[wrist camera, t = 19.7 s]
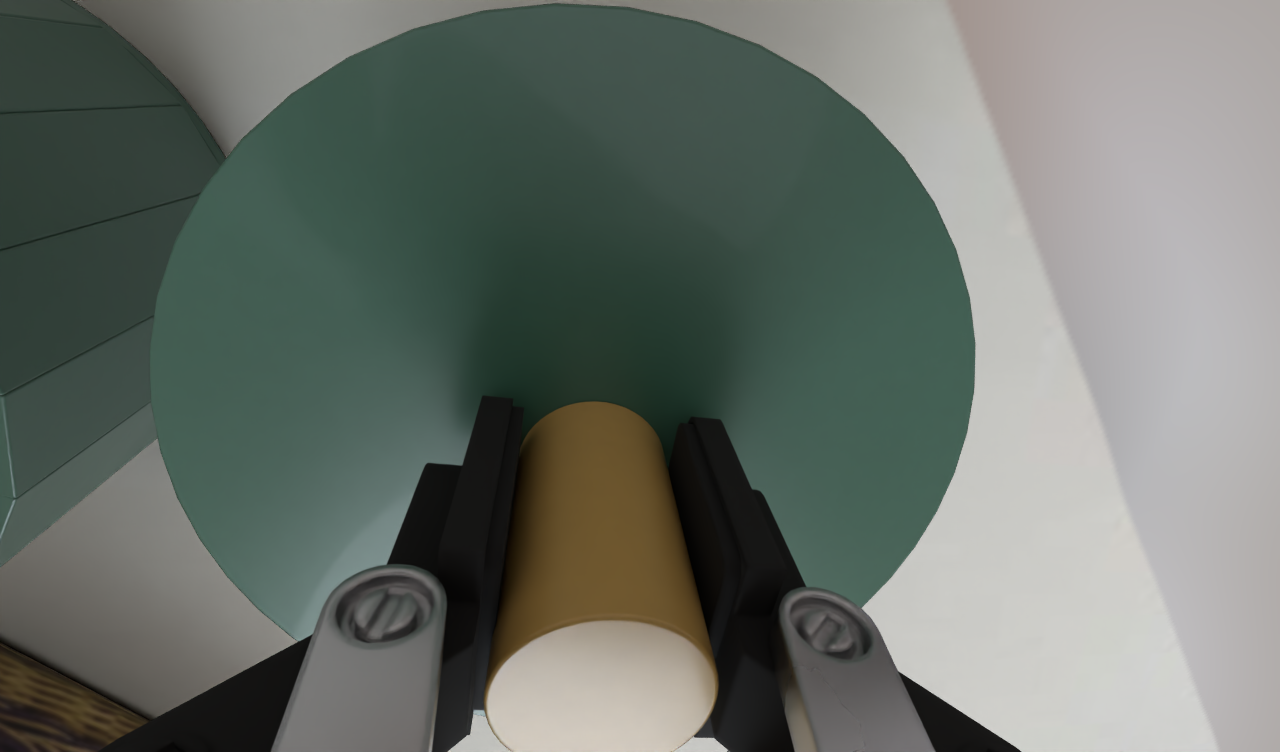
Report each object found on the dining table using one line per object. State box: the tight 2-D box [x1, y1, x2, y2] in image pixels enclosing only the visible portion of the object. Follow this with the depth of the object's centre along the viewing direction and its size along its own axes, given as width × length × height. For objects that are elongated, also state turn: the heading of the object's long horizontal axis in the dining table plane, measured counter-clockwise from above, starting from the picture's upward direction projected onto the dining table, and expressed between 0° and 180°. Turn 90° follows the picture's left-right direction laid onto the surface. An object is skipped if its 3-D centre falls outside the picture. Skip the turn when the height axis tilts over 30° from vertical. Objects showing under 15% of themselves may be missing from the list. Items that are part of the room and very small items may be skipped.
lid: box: [149, 3, 975, 752], centre depth 10 cm, size 15×15×6 cm
